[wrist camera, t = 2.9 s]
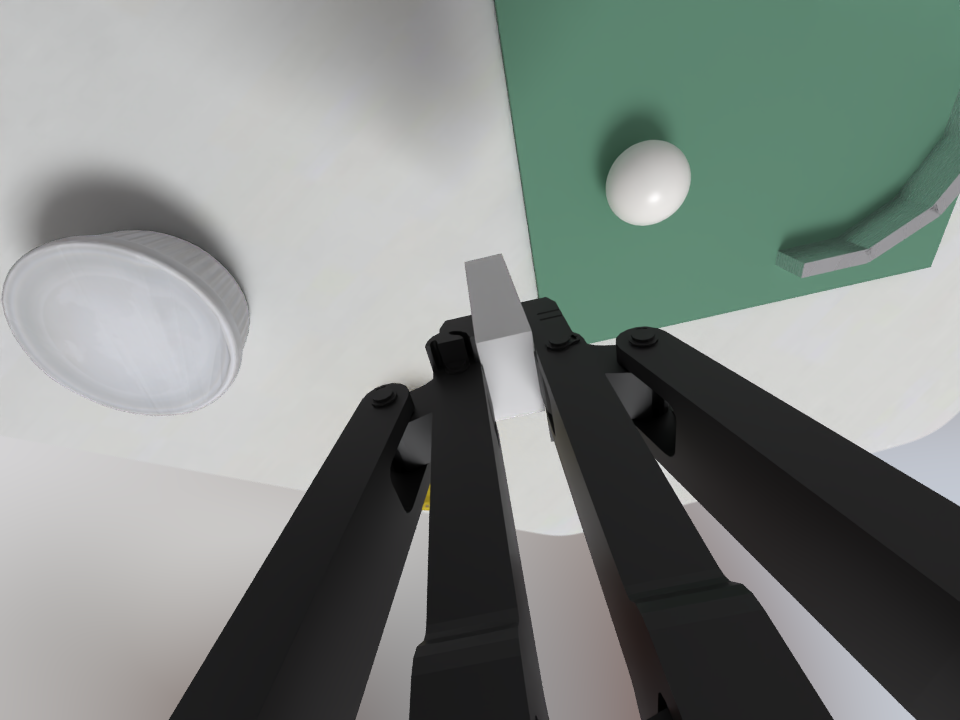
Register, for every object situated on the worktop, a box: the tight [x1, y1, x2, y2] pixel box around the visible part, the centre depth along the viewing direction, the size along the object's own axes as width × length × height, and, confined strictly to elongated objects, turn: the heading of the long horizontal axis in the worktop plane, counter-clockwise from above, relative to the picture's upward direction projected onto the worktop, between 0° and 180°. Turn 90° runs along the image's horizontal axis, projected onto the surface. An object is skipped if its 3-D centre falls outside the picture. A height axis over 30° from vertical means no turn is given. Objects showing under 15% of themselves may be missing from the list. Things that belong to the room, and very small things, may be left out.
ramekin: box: [2, 230, 250, 416], centre depth 26 cm, size 11×11×5 cm
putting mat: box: [494, 0, 960, 344], centre depth 25 cm, size 22×28×1 cm
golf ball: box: [606, 140, 691, 226], centre depth 24 cm, size 4×4×4 cm
